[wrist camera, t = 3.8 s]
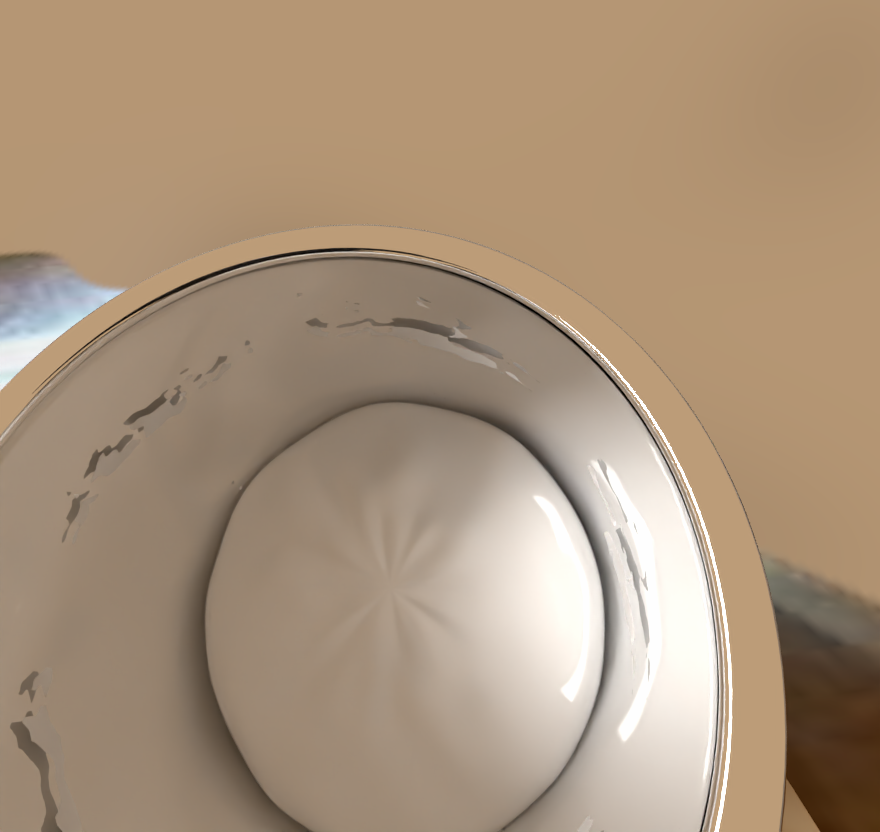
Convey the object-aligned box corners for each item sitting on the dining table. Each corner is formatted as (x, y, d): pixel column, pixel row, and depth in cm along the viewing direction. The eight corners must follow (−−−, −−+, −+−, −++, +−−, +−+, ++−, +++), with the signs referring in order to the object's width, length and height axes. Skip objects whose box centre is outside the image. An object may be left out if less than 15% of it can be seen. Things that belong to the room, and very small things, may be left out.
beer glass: (493, 477, 18) (492, 112, 5) (582, 648, 16) (1223, 999, 2) (340, 549, 18) (-160, 381, 4) (403, 739, 15) (-454, 2060, 1)
